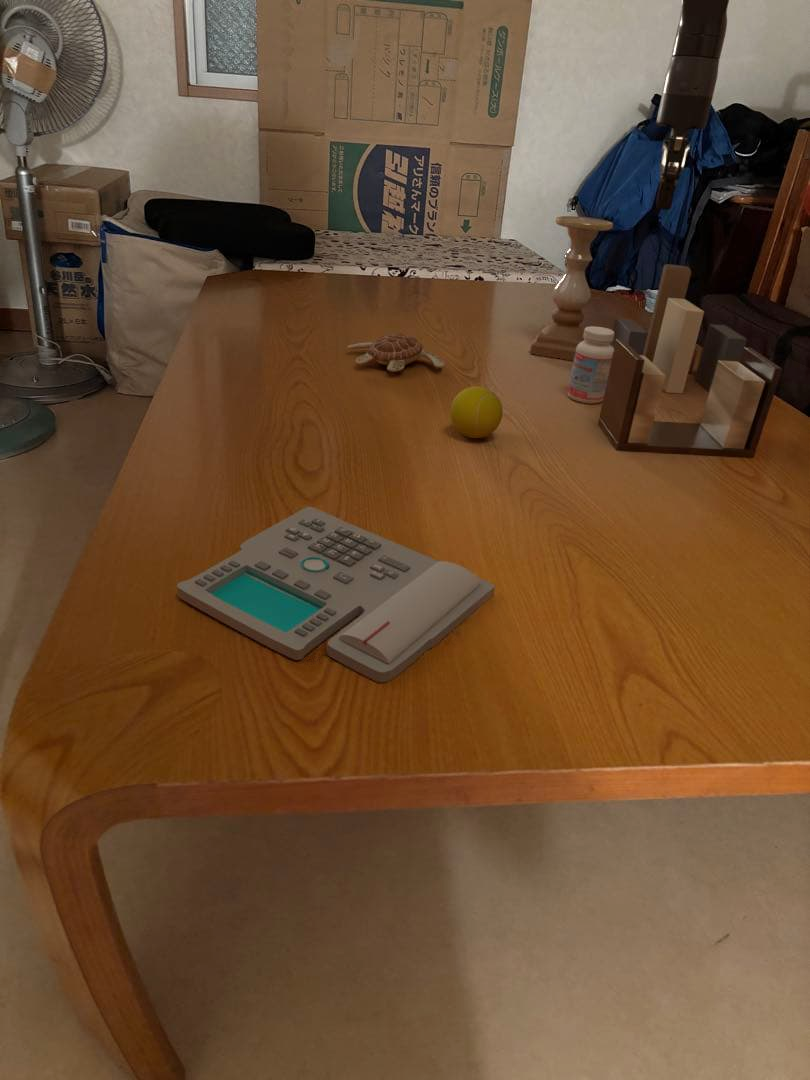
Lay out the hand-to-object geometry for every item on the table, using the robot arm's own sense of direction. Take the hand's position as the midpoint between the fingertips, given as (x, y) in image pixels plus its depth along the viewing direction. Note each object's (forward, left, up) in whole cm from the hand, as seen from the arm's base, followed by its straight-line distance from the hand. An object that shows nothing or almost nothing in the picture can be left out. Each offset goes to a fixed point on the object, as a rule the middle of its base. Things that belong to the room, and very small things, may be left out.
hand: (662, 206), depth 127 cm
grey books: (-6, +5, -28) cm, 29 cm away
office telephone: (+50, +75, -28) cm, 94 cm away
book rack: (+2, +31, -28) cm, 42 cm away
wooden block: (-10, -6, -28) cm, 31 cm away
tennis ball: (+32, +34, -28) cm, 55 cm away
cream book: (-6, +5, -28) cm, 29 cm away
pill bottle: (+11, +15, -28) cm, 34 cm away
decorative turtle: (+42, +2, -28) cm, 51 cm away
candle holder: (+9, -12, -28) cm, 32 cm away
